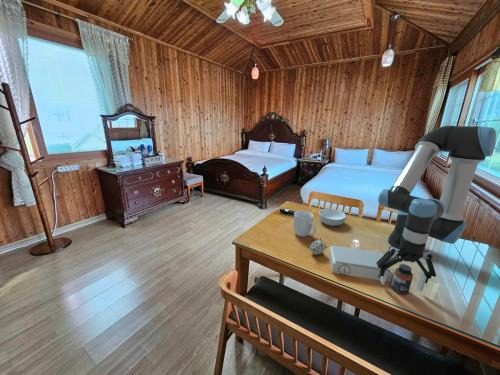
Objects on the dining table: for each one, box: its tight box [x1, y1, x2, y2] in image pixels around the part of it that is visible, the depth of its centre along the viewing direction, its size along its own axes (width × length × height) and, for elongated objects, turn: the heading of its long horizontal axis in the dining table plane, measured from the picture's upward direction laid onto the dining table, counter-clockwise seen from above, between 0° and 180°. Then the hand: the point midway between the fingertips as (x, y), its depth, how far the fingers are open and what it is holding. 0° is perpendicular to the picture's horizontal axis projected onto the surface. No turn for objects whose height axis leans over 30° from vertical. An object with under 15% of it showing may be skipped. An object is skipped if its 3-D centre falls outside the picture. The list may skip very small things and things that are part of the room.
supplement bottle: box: [391, 263, 414, 296], centre depth 88 cm, size 6×6×11 cm
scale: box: [328, 244, 394, 283], centre depth 102 cm, size 24×15×6 cm, turn 77°
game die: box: [307, 238, 328, 257], centre depth 111 cm, size 9×8×10 cm
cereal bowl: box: [318, 208, 347, 227], centre depth 145 cm, size 17×17×7 cm
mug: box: [293, 210, 317, 238], centre depth 128 cm, size 15×11×13 cm
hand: (400, 285), depth 89 cm, fingers open, 13 cm apart
